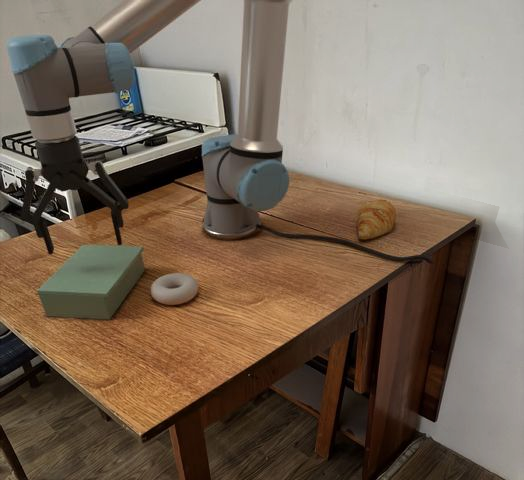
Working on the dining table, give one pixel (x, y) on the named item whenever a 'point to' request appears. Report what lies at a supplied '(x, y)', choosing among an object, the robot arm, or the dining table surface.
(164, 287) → the donut
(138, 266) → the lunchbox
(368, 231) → the croissant
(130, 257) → the green box lid
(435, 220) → the dining table surface
